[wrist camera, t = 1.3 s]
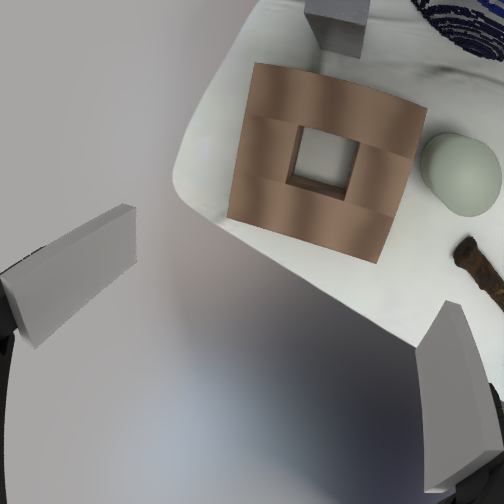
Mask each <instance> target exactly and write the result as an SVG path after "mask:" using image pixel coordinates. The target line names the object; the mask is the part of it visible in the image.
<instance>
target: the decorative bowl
mask: <svg viewBox="0 0 504 504" xmlns="http://www.w3.org/2000/svg"><path fill="white" fill-rule="evenodd" d="M429 1H430V0H421V2H420V5H418V3H417V0H411V2H413V4H415V6H416V7H417V11H421V14H423V18H425V19H427V21H429V24H431V26H433V27H435V29H436V30H439V33H441V35H442V36H444V37H447V38H449V40H450V41H452V42H455V45H458V46H460V47H462V48H463V50H465V51H467V52H470V53H472V54H474V55H476V56H478V57H481V58H482V56H483V57H485V58H487V59H493V60H495V59H496V60H498V61H500V62H502V61H503V60H504V54H503V52H502V51H501V50H499V48H498V47H496V46H494V45H492V44H490V43H489V42H488V41H490V42H492V43H493V41H494V42H496V43H497V44H498V45H500V46H502V48H503V49H504V45H503V43H504V33H503V32H504V26H503V25H501V24H499V23H497V22H495V21H493V20H491V19H489V18H487V17H485V16H484V14H483V13H481V12H479V11H475V10H473V9H472V10H471V12H472V13H475V14H476V16H475V15H472V14H471V12H470V11H469V9H468V8H466V7H464V8H463V7H458V6H454V5H453V6H451V5H450V6H449V5H438V7H437V6H436V5H434V6H431V7H429V6H428V9H427V10H426V9H425V8H424V7H425V4H426V3H428V4H429ZM477 1H478V2H480V3H482V6H484V7H486V8H488V9H489V11H490V12H492V13H494V14H496V15H498V16H500V17H502V18H504V9H503V8H501V7H499V6H497V5H495V4H491V3H489V0H477ZM498 1H500V2H502V3H504V0H498ZM422 8H424V9H423V10H422ZM458 9H459V10H460V12H459V11H458ZM451 11H452V12H454V14H456V15H463V16H466V17H468V18H469V17H470V18H475V19H478V17H479V18H481V19H483V20H484V22H485V23H487V24H489V25H491V26H493V27H495V28H497V29H499V30H501V31H503V32H501V31H499V30H497V29H495V28H493V27H491V26H489V25H487V24H485V23H483V22H481V21H477V20H475V19H474V20H473V22H472V21H470V20H468V21H466V20H464V19H462V20H461V19H459V18H452V17H451V18H450V17H445V18H443V17H442V18H438V19H437V18H435V19H431V18H429V17H430V16H433V15H434V14H441V13H442V14H447V13H449V14H450V13H451ZM425 12H426V13H425ZM447 21H448V22H449V23H451V24H452V23H453V24H459V26H458V25H456V26H454V25H449V24H448V25H447V26H445V25H443V26H439V27H438V25H439V22H440V24H446V23H447ZM475 23H477V24H479V25H480V27H479V26H477V25H475ZM460 25H462V26H463V25H464V26H468V27H462V26H460ZM469 27H473V28H475V29H477V30H478V29H479V30H481V31H483V32H485V33H487V34H489V35H491V36H493V37H495V38H497V39H498V40H499V41H501V42H503V43H501V42H499V41H498V40H496V39H494V38H493V39H490V38H488V37H486V36H483V35H481V32H479V31H477V30H475V29H471V28H469ZM442 28H444V30H443V32H442ZM445 28H454V29H455V28H456V29H462V30H463V29H464V30H467V31H471V32H475V33H477V34H480V37H482V38H484V39H486V40H488V41H486V40H484V39H482V38H481V39H480V38H478V37H476V36H474V35H471V34H467V31H464V33H463V32H462V33H461V32H457V31H456V32H455V31H453V29H447V32H446V30H445ZM450 35H452V36H453V35H456V36H457V35H458V36H464V37H465V36H466V37H468V38H472V39H474V40H471V39H467V38H466V39H465V38H462V37H460V38H459V37H457V38H455V37H454V38H450ZM501 36H503V38H501ZM475 39H476V40H478V41H480V42H482V43H485V44H487V45H489V46H491V47H492V48H493V50H495V51H496V52H497V53H498V54H499V57H498V58H497V56H496V53H495V52H493V51H492V49H491V48H489V47H487V46H485V45H483V44H481V43H479V42H477V41H475ZM470 48H473V49H476V50H478V51H480V52H481V53H479V52H477V51H474V50H472V49H470Z"/></svg>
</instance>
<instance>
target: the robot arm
mask: <svg viewBox="0 0 504 504" xmlns="http://www.w3.org/2000/svg"><path fill="white" fill-rule="evenodd" d="M136 262H137V260H136V207H133V206H129V205H126V204H121V205H119V206H117V207H115V208H113V209H111V210H109V211H107V212H105V213H103V214H102V215H100V216H98V217H96V218H94V219H92V220H90V221H89V222H87V223H85V224H83V225H81V226H80V227H78V228H76V229H74V230H72V231H71V232H69V233H67V234H65V235H64V236H62V237H60V238H59V239H57V240H55V241H53V242H52V243H50V244H48V245H47V246H44V247H41V248H39V249H38V250H36V251H35V252H33V253H31V255H28V256H26V257H25V258H23V260H20V261H18V262H17V263H16V264H14V265H12V266H11V267H9V268H8V269H6V270H5V271H3V272H2V273H0V504H7V499H6V489H5V476H4V475H5V474H4V422H5V421H4V420H5V407H6V395H7V386H8V378H9V370H10V364H11V358H12V352H13V347H14V341H15V335H14V333H13V331H14V330H15V329H17V328H18V330H19V332H20V335H21V337H22V339H23V341H25V342H26V343H27V344H28V345H30V346H31V347H32V348H33V349H36V348H38V346H39V345H41V344H42V343H43V342H44V341H45V340H46V339H47V338H48V337H49V336H51V335H52V334H53V333H54V332H55V331H56V330H57V329H58V328H59V327H61V326H62V325H63V324H64V323H65V322H66V321H67V320H68V319H70V318H71V317H72V316H73V315H74V314H75V313H76V312H77V311H79V310H80V309H81V308H82V307H83V306H84V305H85V304H87V303H88V302H89V301H90V300H91V299H93V298H94V297H95V296H96V295H97V294H98V293H100V292H101V291H102V290H103V289H104V288H106V287H107V286H108V285H109V284H110V283H112V282H113V281H114V280H115V279H116V278H118V277H119V276H120V275H121V274H123V273H124V272H125V271H126V270H127V269H129V268H130V267H131V266H133V265H134V264H135V263H136ZM415 353H416V359H417V367H418V374H419V383H420V392H421V403H422V414H423V430H424V454H425V455H424V459H425V480H424V482H425V483H424V493H443V492H445V491H446V490H448V489H450V488H451V487H453V486H455V485H456V493H454V494H453V495H451V496H449V497H447V498H446V499H444V500H442V501H440V502H438V503H437V504H504V414H503V410H502V409H501V408H502V405H501V402H500V398H499V395H498V393H497V391H496V390H495V388H494V386H493V385H492V383H488V379H487V376H486V373H485V370H484V366H483V363H482V360H481V357H480V354H479V352H478V349H477V346H476V343H475V340H474V338H473V335H472V332H471V330H470V327H469V325H468V322H467V320H466V317H465V315H464V312H463V310H462V307H461V305H459V304H456V303H453V302H450V301H447V300H446V301H445V302H444V304H443V306H442V308H441V310H440V311H439V313H438V315H437V316H436V318H435V320H434V321H433V323H432V325H431V326H430V328H429V330H428V331H427V333H426V335H425V336H424V338H423V339H422V341H421V342H420V344H419V346H418V347H417V349H416V350H415Z"/></svg>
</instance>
